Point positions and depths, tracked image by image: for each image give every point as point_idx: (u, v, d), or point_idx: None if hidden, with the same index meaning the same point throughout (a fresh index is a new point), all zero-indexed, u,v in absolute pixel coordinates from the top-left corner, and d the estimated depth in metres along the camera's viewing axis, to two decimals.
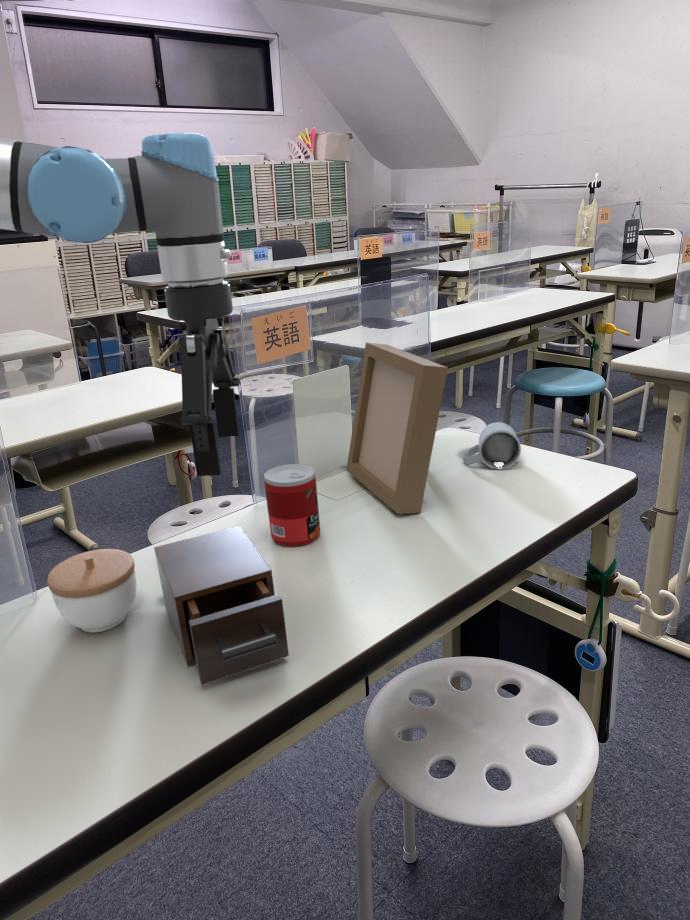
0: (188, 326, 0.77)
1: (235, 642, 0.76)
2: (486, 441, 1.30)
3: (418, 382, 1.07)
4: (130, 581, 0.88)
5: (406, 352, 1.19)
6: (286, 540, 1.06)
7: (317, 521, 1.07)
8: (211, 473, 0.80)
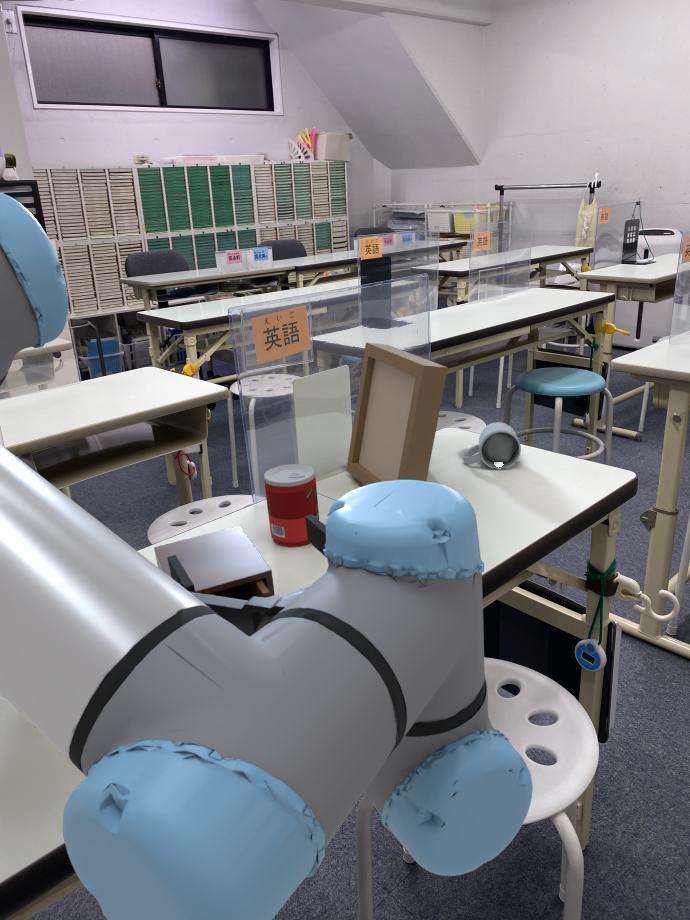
0: None
1: None
2: (486, 441, 1.30)
3: (418, 382, 1.07)
4: None
5: (406, 352, 1.19)
6: (286, 540, 1.06)
7: None
8: (171, 574, 0.62)
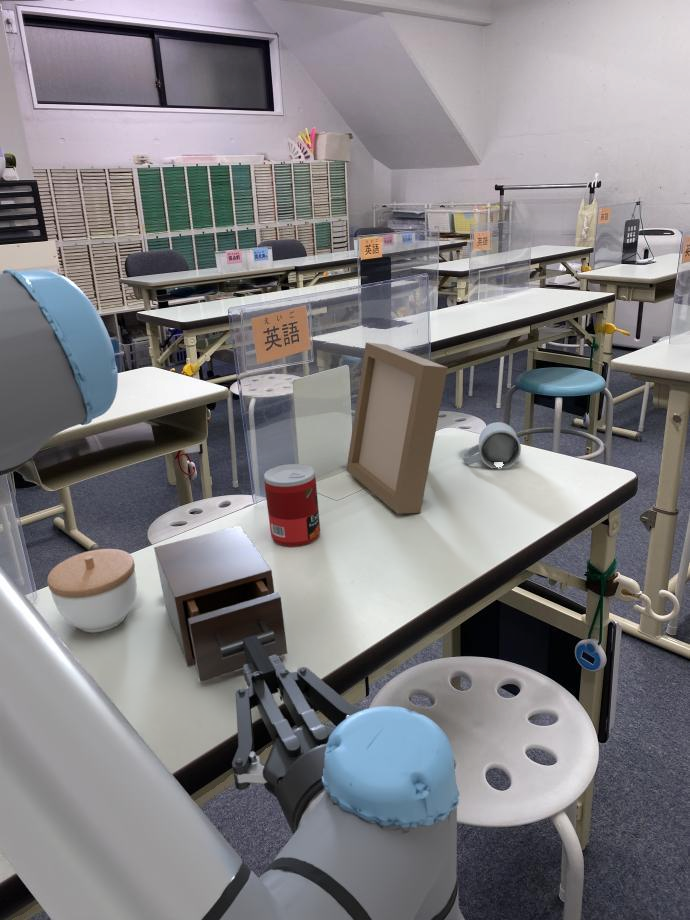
0: (275, 784, 0.55)
1: (234, 640, 0.77)
2: (486, 441, 1.30)
3: (418, 382, 1.07)
4: (130, 581, 0.88)
5: (406, 352, 1.19)
6: (286, 540, 1.06)
7: (317, 521, 1.07)
8: (245, 653, 0.73)
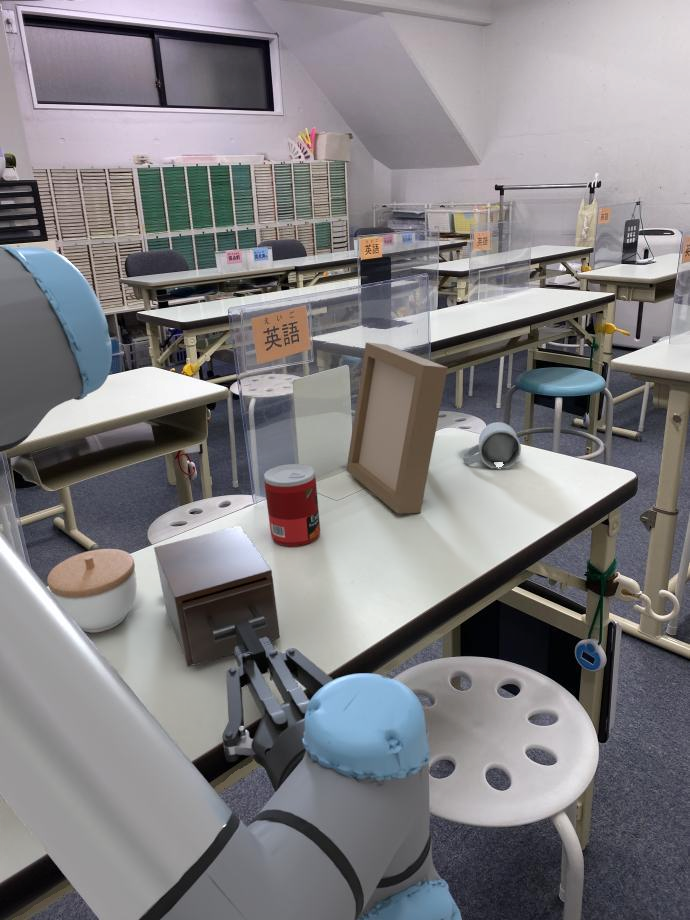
0: (263, 755, 0.58)
1: (226, 624, 0.79)
2: (486, 441, 1.30)
3: (418, 382, 1.07)
4: (130, 581, 0.88)
5: (406, 352, 1.19)
6: (286, 540, 1.06)
7: (317, 521, 1.07)
8: (236, 636, 0.75)
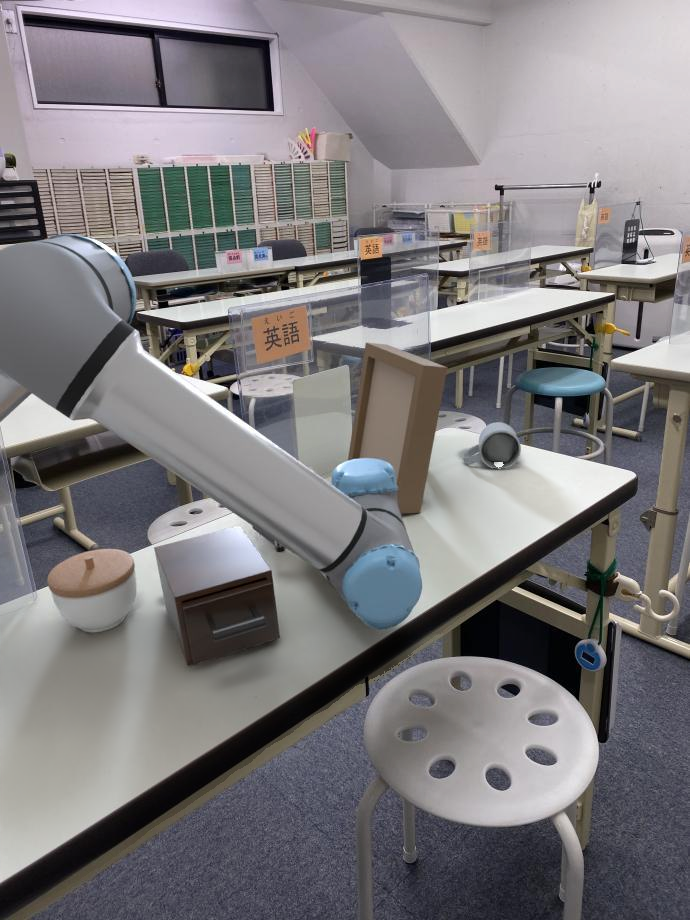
0: None
1: (226, 624, 0.80)
2: (486, 441, 1.30)
3: (418, 382, 1.07)
4: (130, 581, 0.88)
5: (406, 352, 1.19)
6: None
7: None
8: None
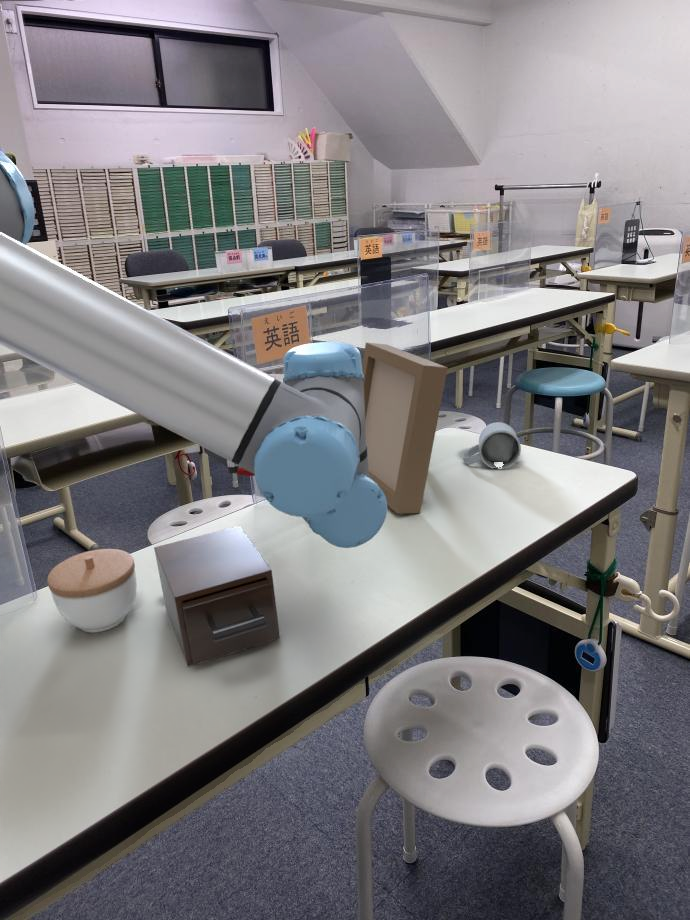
0: None
1: (226, 624, 0.80)
2: (486, 441, 1.30)
3: (418, 382, 1.07)
4: (130, 581, 0.88)
5: (406, 352, 1.19)
6: None
7: None
8: None
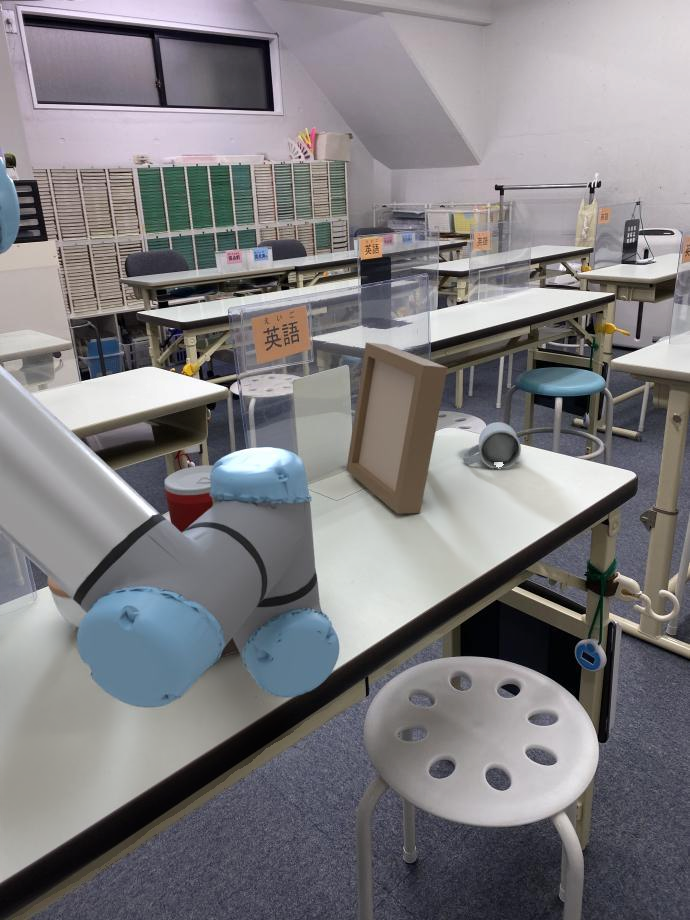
0: None
1: None
2: (486, 441, 1.30)
3: (418, 382, 1.07)
4: None
5: (406, 352, 1.19)
6: None
7: None
8: None
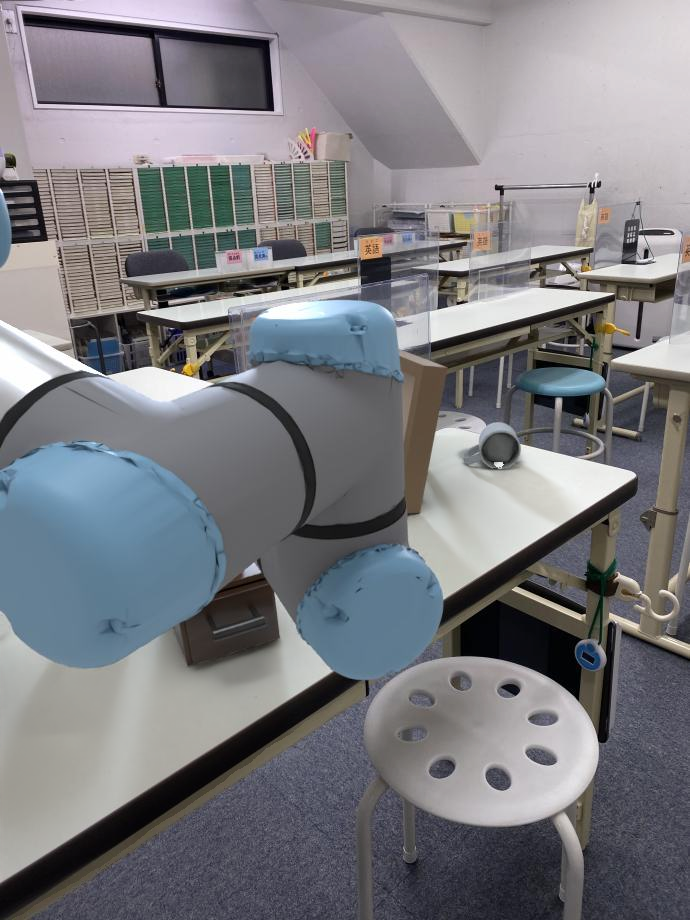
0: None
1: (226, 624, 0.80)
2: (486, 441, 1.30)
3: (418, 382, 1.07)
4: None
5: (406, 352, 1.19)
6: None
7: None
8: None
